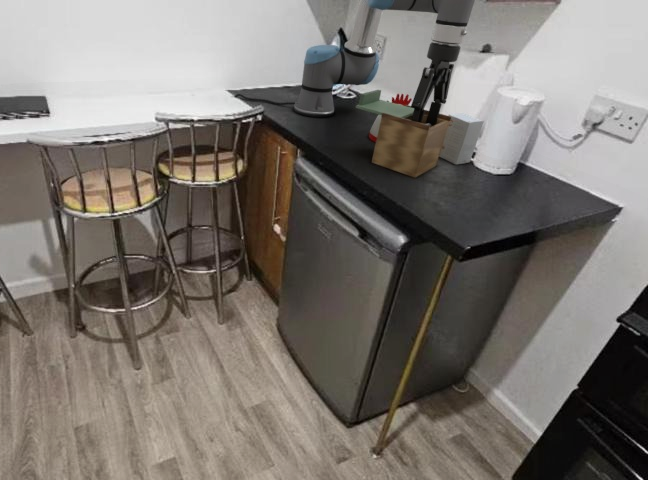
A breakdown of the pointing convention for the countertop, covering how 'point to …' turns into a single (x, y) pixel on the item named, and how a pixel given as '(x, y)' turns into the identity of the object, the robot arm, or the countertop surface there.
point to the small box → (461, 138)
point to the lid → (382, 105)
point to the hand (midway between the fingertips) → (421, 129)
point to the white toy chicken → (376, 124)
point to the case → (409, 143)
